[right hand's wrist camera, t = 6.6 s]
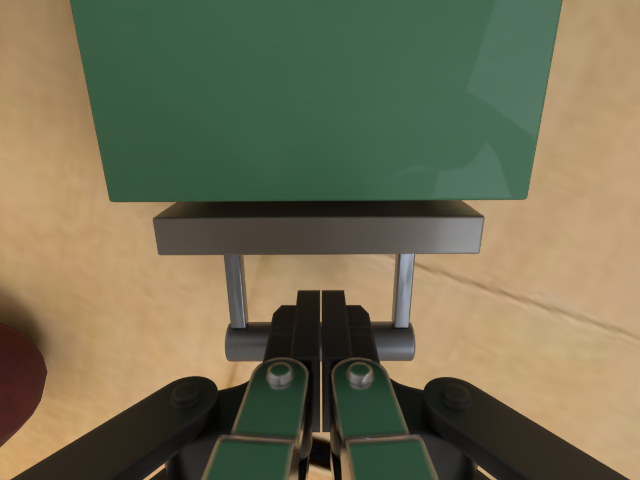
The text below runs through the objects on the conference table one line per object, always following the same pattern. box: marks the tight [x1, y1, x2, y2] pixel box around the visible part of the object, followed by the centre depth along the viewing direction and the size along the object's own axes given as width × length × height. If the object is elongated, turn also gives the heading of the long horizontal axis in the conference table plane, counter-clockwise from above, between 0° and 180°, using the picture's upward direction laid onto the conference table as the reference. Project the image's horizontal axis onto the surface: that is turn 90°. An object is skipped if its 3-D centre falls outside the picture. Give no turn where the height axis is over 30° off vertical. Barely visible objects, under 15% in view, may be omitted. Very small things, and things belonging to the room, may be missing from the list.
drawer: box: [153, 200, 484, 361], centre depth 13 cm, size 22×10×7 cm, turn 0°
